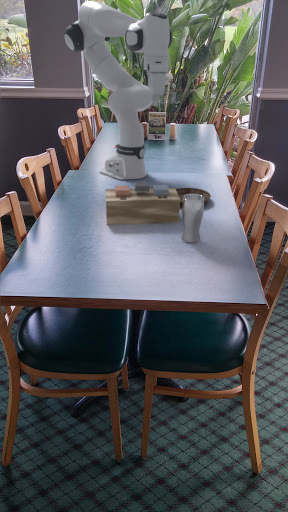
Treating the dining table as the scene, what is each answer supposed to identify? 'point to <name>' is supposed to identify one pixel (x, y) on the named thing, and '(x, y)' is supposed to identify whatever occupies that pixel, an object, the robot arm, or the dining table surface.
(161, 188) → the slate key
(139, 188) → the charcoal key
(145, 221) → the wooden key base
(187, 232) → the beer glass
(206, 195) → the plant saucer
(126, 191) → the terracotta key
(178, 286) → the dining table surface
